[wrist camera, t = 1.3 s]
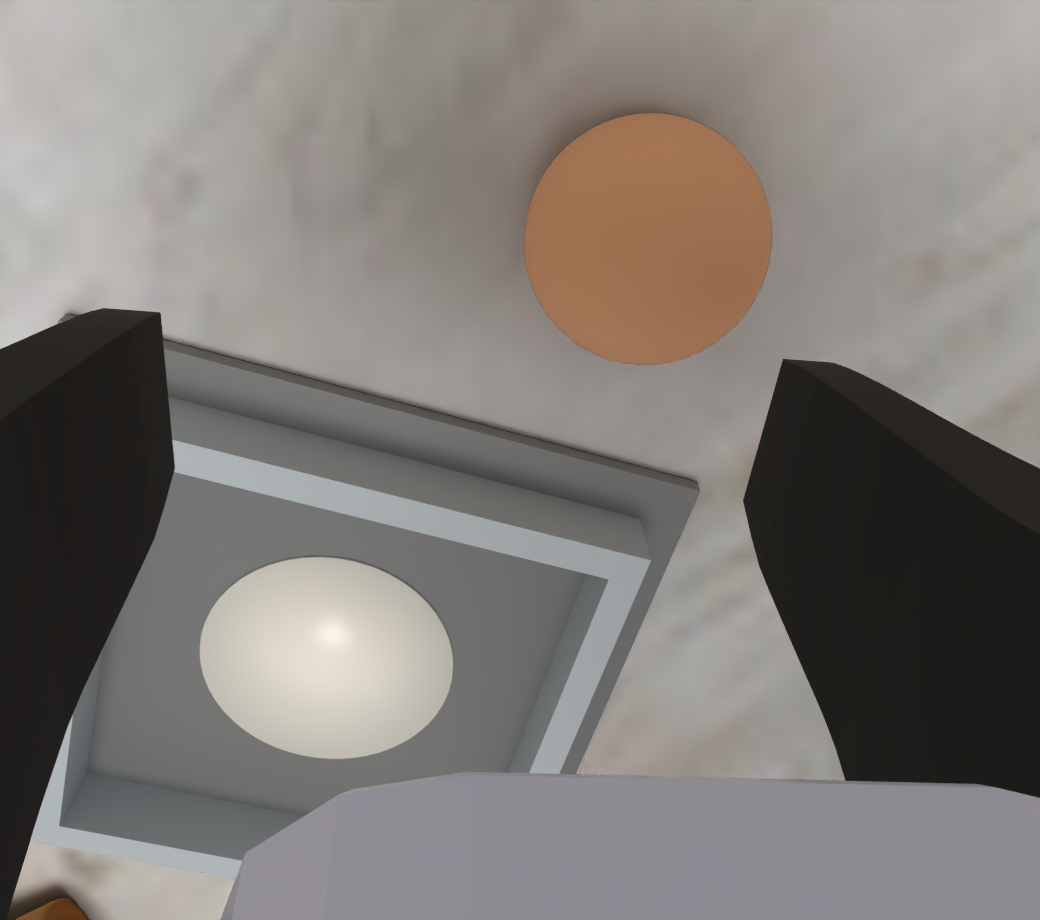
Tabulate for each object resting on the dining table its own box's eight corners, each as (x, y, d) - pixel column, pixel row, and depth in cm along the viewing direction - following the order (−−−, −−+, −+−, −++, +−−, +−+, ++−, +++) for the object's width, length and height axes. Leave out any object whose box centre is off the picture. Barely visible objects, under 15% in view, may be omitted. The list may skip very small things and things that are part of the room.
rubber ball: (775, 139, 21) (849, 182, 17) (692, 344, 23) (738, 431, 19) (560, 68, 20) (578, 93, 16) (494, 287, 23) (494, 363, 18)
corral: (696, 481, 25) (715, 531, 23) (518, 890, 32) (519, 959, 30) (66, 313, 23) (20, 350, 20) (19, 794, 29) (-20, 861, 27)
